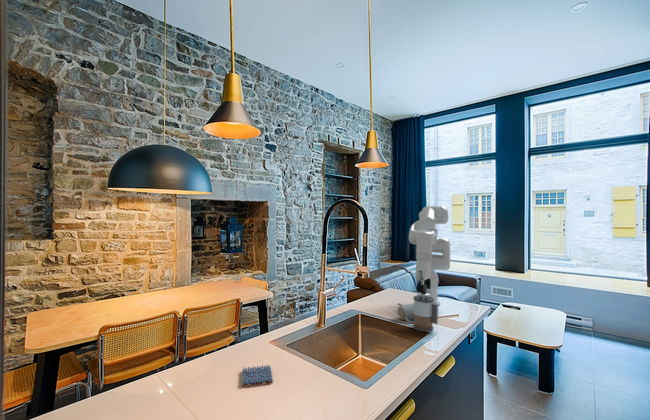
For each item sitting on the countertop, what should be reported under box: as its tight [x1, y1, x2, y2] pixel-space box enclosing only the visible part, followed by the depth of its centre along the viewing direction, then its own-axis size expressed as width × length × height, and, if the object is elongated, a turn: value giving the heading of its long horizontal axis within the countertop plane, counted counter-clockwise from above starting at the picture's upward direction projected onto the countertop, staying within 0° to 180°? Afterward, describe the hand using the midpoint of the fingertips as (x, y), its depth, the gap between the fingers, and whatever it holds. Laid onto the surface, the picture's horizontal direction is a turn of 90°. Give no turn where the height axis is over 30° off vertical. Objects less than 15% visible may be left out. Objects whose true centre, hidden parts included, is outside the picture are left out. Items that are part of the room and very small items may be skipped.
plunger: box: [416, 285, 430, 299], centre depth 147 cm, size 6×6×13 cm
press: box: [412, 294, 439, 332], centre depth 147 cm, size 10×12×15 cm
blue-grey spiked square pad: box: [240, 364, 274, 389], centre depth 100 cm, size 10×11×2 cm
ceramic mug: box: [397, 303, 414, 324], centre depth 158 cm, size 11×8×8 cm
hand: (423, 290), depth 148 cm, fingers open, 9 cm apart
